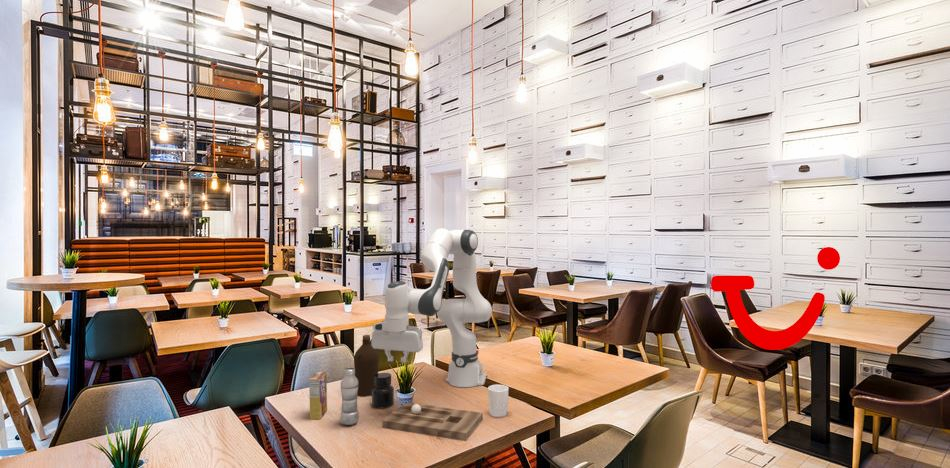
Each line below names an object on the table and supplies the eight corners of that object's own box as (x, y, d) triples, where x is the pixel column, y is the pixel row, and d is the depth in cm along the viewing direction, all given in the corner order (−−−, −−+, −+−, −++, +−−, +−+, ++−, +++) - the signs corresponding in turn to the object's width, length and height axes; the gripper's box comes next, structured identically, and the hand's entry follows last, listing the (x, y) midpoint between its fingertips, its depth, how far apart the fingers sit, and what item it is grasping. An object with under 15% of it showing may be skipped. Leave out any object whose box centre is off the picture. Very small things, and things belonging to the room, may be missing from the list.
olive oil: (378, 396, 191) (378, 337, 191) (352, 397, 189) (352, 338, 189) (379, 387, 201) (379, 332, 201) (355, 389, 200) (355, 333, 200)
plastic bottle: (352, 418, 168) (352, 365, 168) (362, 423, 163) (362, 369, 163) (336, 423, 163) (336, 368, 163) (346, 429, 158) (346, 372, 158)
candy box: (316, 410, 176) (316, 371, 176) (327, 410, 176) (327, 371, 176) (308, 419, 167) (308, 378, 167) (320, 419, 167) (320, 378, 167)
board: (382, 427, 160) (382, 417, 160) (405, 408, 177) (405, 399, 177) (466, 440, 149) (466, 429, 149) (482, 419, 166) (482, 409, 166)
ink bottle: (392, 399, 187) (392, 370, 187) (396, 407, 179) (396, 377, 179) (369, 402, 184) (369, 373, 184) (372, 410, 176) (372, 379, 176)
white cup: (507, 418, 167) (507, 392, 167) (486, 417, 169) (486, 390, 169) (509, 410, 175) (509, 385, 175) (489, 409, 176) (489, 383, 176)
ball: (414, 411, 168) (414, 402, 168) (422, 412, 167) (422, 403, 167) (409, 415, 164) (409, 405, 164) (418, 416, 163) (418, 406, 163)
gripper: (425, 325, 168) (425, 362, 168) (378, 321, 174) (378, 357, 174) (418, 328, 162) (418, 366, 162) (369, 325, 168) (369, 361, 168)
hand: (397, 361), depth 168 cm, fingers open, 4 cm apart
